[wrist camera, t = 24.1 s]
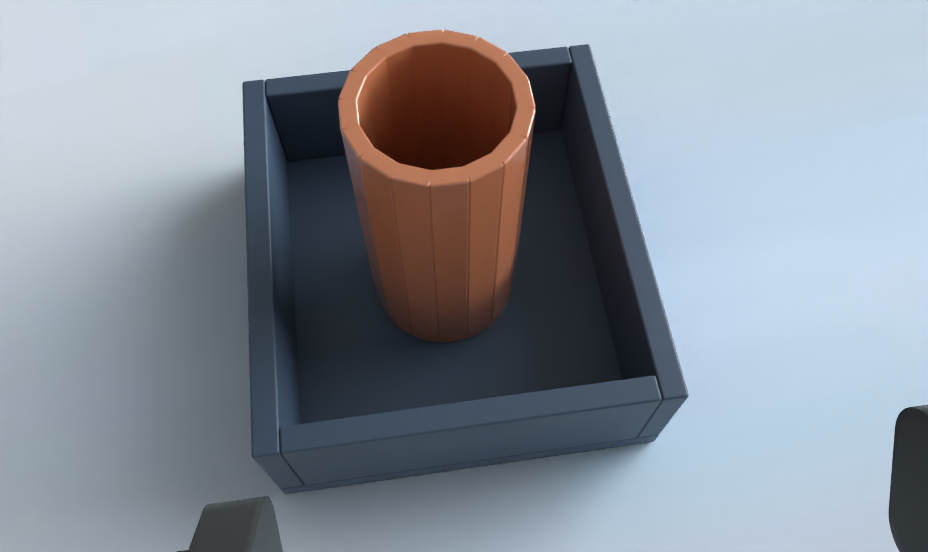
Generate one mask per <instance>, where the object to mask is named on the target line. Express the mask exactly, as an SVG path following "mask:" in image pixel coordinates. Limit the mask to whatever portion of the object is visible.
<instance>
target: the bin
mask: <svg viewBox="0 0 928 552" xmlns="http://www.w3.org/2000/svg"><path fill="white" fill-rule="evenodd" d="M508 54H509V55H510V56H511V57H512V58H513V59H514V61H515V62H516V63H517V64H518V66H519V67H520V68H521V69H522V71H523V72H524V73H525V74H526V76H527V77H528V79H529V81H530V85H531V89H532V94H533V98H534V102H535V107H536V108H535V119H534V127H533V135H532V143H531V151H530V158H529V166H528V174H527V182H526V190H525V198H524V205H523V213H522V221H521V229H520V237H519V244H518V252H517V260H516V268H515V276H514V280H513V284H512V290H511V295H510V298H509V301H508V303H507V305H506V307H505V309H504V311H503V312H502V314H501V315H500V317H499V318H498V319H497V320H496V321H495V322H494V323H493V324H492V325H491V326H489V327H488V328H487V329H485V330H484V331H482V332H481V333H479V334H477V335H475V336H473V337H470V338H467V339H464V340H460V341H455V342H432V341H426V340H423V339H420V338H416V337H414V336H412V335H410V334H408V333H406V332H405V331H403V330H401V329H400V328H399V327H398V326H396V325H395V324H394V323H393V322H392V321H391V320H390V319H389V318H388V316H387V315H386V313H385V312H384V310H383V309H382V307H381V305H380V302H379V299H378V296H377V294H376V291H375V287H374V282H373V278H372V273H371V269H370V264H369V259H368V255H367V250H366V246H365V241H364V236H363V232H362V227H361V222H360V218H359V213H358V209H357V204H356V199H355V195H354V190H353V186H352V181H351V176H350V172H349V167H348V162H347V158H346V153H345V149H344V144H343V139H342V135H341V130H340V120H339V109H338V98H339V96H340V93H341V91H342V88H343V86H344V84H345V81H346V79H347V76H348V74H349V72H350V71H351V70H348V71H339V72H330V73H320V74H311V75H302V76H293V77H284V78H274V79H267V80H266V81H264V80H256V81H247V82H243V124H244V164H245V204H246V244H247V284H248V324H249V364H250V404H251V444H252V457H253V459H254V460H255V461H256V462H257V463H258V464H259V465H260V466H261V467H262V468H263V470H264V471H265V472H266V473H267V474H268V475H269V476H270V477H271V478H272V480H273V481H274V482H275V483H276V484H277V485H278V486H279V487H280V488H281V490H282V491H283V492H284V493H285V494H290V493H297V492H304V491H311V490H318V489H325V488H332V487H339V486H346V485H353V484H360V483H367V482H374V481H381V480H388V479H395V478H402V477H409V476H416V475H423V474H429V473H436V472H443V471H450V470H457V469H464V468H471V467H478V466H485V465H492V464H499V463H506V462H513V461H520V460H527V459H534V458H541V457H548V456H555V455H562V454H569V453H576V452H583V451H590V450H597V449H604V448H611V447H618V446H625V445H632V444H639V443H646V442H653V441H654V440H655V439H656V438H657V437H658V435H659V434H660V432H661V431H662V430H663V428H664V427H665V426H666V425H667V423H668V422H669V421H670V419H671V418H672V417H673V416H674V414H675V413H676V412H677V410H678V409H679V408H680V407H681V405H682V404H683V403H684V401H685V400H686V399H687V397H688V391H687V388H686V384H685V381H684V377H683V374H682V370H681V367H680V363H679V360H678V356H677V353H676V349H675V345H674V342H673V338H672V335H671V331H670V328H669V324H668V321H667V317H666V314H665V310H664V307H663V303H662V299H661V296H660V292H659V289H658V285H657V282H656V278H655V275H654V271H653V268H652V264H651V261H650V257H649V253H648V250H647V246H646V243H645V239H644V236H643V232H642V229H641V225H640V222H639V218H638V215H637V211H636V207H635V204H634V200H633V197H632V193H631V190H630V186H629V183H628V179H627V176H626V172H625V169H624V165H623V161H622V158H621V154H620V151H619V147H618V144H617V140H616V137H615V133H614V130H613V126H612V123H611V119H610V115H609V112H608V108H607V105H606V101H605V98H604V94H603V91H602V87H601V84H600V80H599V77H598V73H597V69H596V66H595V62H594V59H593V55H592V52H591V48H590V45H588V44H586V45H577V46H570V47H569V49H568V47H559V48H550V49H541V50H532V51H523V52H513V53H508Z"/></svg>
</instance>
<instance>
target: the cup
mask: <svg viewBox="0 0 928 552" xmlns="http://www.w3.org/2000/svg"><path fill="white" fill-rule="evenodd" d="M535 108H536V107H535V102H534V98H533V94H532V89H531V85H530V81H529V79H528V77H527V76H526V74H525V73H524V72H523V71H522V69H521V68H520V67H519V66H518V64H517V63H516V62H515V61H514V59H513V58H512V57H511V56H510V55H509V54H508V53H507V52H505V51H504V50H502V49H500V48H498V47H497V46H495V45H493V44H491V43H489V42H488V41H486V40H484V39H482V38H481V37H477V36H474V35H469V34H464V33H459V32H454V31H449V30H433V31H423V32H414V33H408V34H404V35H402V36H399V37H397V38H395V39H392V40H390V41H388V42H385V43H383V44H381V45H379V46H376V47H375V48H373V49H372V50H371V51H370V52H369V53H368V54H367V55H366V56H365V57H364V58H363V59H361V60H360V61H359V62H358V63H357V64H356V65H355V66H354V67H353V68H352V69H351V71H350V72H349V74H348V76H347V79H346V81H345V84H344V86H343V88H342V91H341V93H340V96H339V98H338V109H339V120H340V130H341V135H342V139H343V144H344V149H345V153H346V158H347V162H348V167H349V172H350V176H351V181H352V186H353V190H354V195H355V199H356V204H357V209H358V213H359V218H360V222H361V227H362V232H363V236H364V241H365V246H366V250H367V255H368V259H369V264H370V269H371V273H372V278H373V282H374V287H375V291H376V294H377V296H378V299H379V302H380V305H381V307H382V309H383V310H384V312H385V313H386V315H387V316H388V318H389V319H390V320H391V321H392V322H393V323H394V324H395V325H396V326H398V327H399V328H400V329H401V330H403V331H405V332H406V333H408V334H410V335H412V336H414V337H416V338H420V339H423V340H426V341H432V342H455V341H460V340H464V339H467V338H470V337H473V336H475V335H477V334H479V333H481V332H482V331H484V330H485V329H487V328H488V327H489V326H491V325H492V324H493V323H494V322H495V321H496V320H497V319H498V318H499V317H500V315H501V314H502V312H503V311H504V309H505V307H506V305H507V303H508V301H509V298H510V295H511V290H512V284H513V280H514V276H515V268H516V260H517V252H518V244H519V237H520V229H521V221H522V213H523V205H524V198H525V190H526V182H527V174H528V166H529V158H530V151H531V143H532V135H533V127H534V119H535Z"/></svg>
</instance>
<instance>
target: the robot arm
mask: <svg viewBox="0 0 928 552" xmlns="http://www.w3.org/2000/svg"><path fill="white" fill-rule="evenodd" d="M889 523H890V528H891V532H892V535H893V538H894V541H895V543H896V545H897V548H898V550H899V551H900V552H928V405H923V406H916V407H909V408H906V409H904V410H902V412H901V413H900V414H899V416H898V418H897V421H896V425H895V435H894V448H893V461H892V474H891V487H890V501H889ZM178 552H283V550H282V545H281V540H280V535H279V530H278V525H277V520H276V515H275V511H274V507H273V504H272V501H271V500H270V498H269V497H268V496H265V497H258V498H251V499H243V500H236V501H229V502H222V503H215V504H208V505H206V506H205V507H204V509H203V511H202V514H201V517H200V519H199V522H198V525H197V528H196V531H195V533H194V536H193V539H192V542H191V544H190V547H189V550H185V551H178Z"/></svg>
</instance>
